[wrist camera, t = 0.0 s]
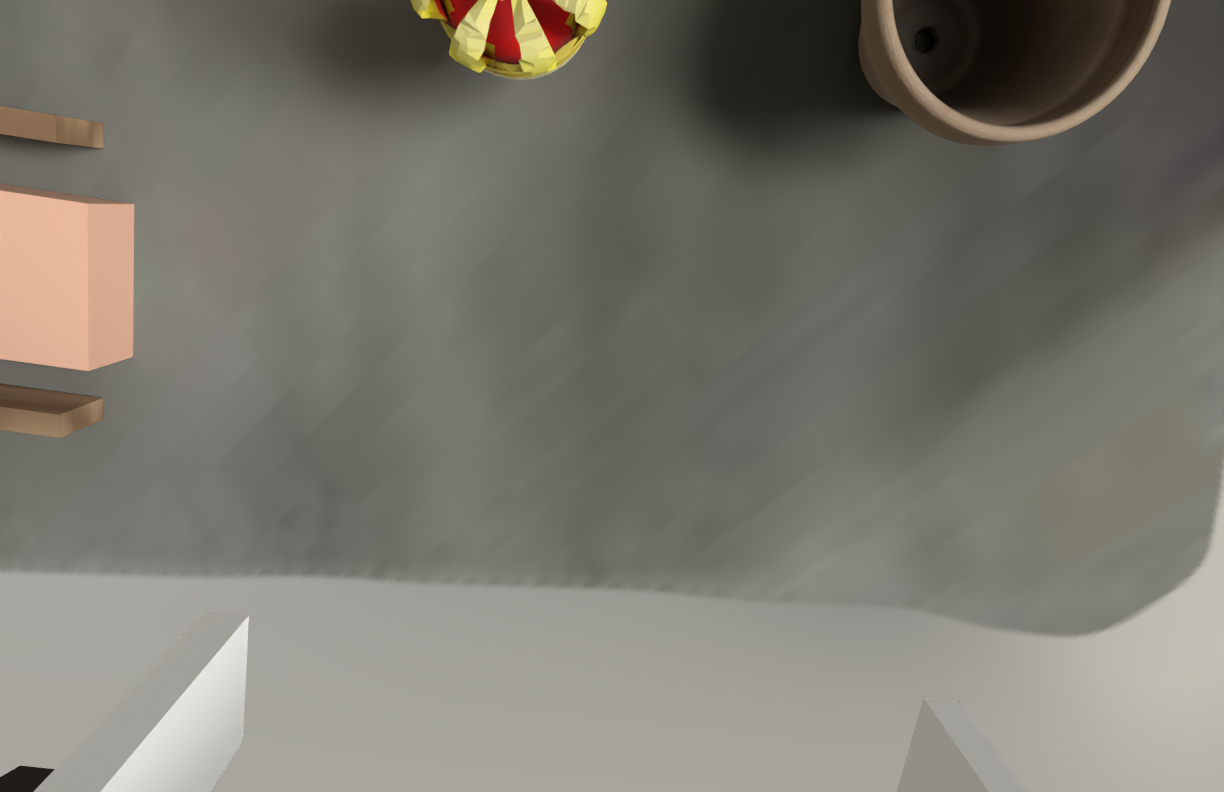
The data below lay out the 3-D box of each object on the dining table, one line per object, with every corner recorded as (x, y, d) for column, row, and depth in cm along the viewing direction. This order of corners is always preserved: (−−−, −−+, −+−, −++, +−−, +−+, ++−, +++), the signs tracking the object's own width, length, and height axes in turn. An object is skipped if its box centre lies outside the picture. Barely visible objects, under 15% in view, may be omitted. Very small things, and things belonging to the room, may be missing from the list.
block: (-25, 179, 39) (-94, 176, 35) (137, 204, 39) (87, 203, 35) (-19, 334, 41) (-84, 347, 37) (135, 355, 41) (88, 371, 37)
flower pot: (798, -76, 37) (873, -179, 27) (1032, -105, 37) (1192, -218, 27) (811, 171, 40) (884, 159, 30) (1029, 145, 40) (1174, 123, 30)
